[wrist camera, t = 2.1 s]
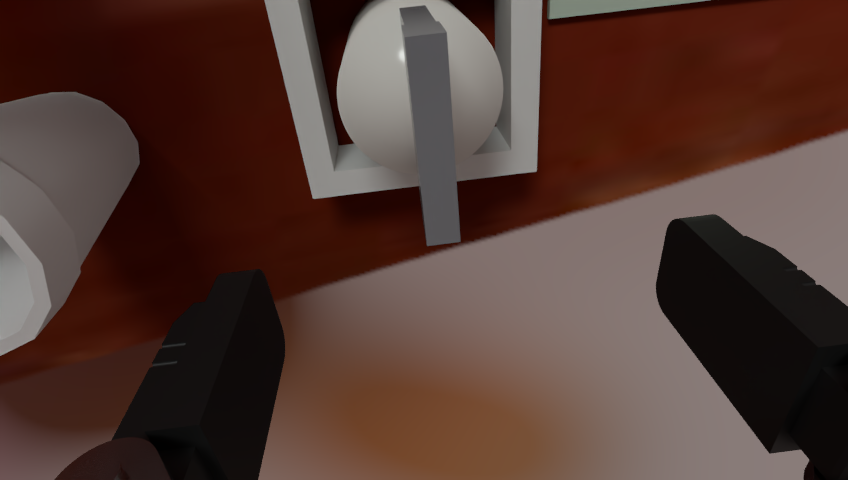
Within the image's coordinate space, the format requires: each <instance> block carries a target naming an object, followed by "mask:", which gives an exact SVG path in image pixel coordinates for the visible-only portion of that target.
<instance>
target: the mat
mask: <svg viewBox="0 0 848 480" xmlns="http://www.w3.org/2000/svg"><path fill="white" fill-rule="evenodd" d="M700 1H709V0H548V10H547V18H548V19H555V18H564V17H572V16H581V15H589V14H598V13H606V12H615V11H624V10H632V9H641V8H649V7H658V6H666V5H675V4H683V3H692V2H700Z"/></svg>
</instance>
